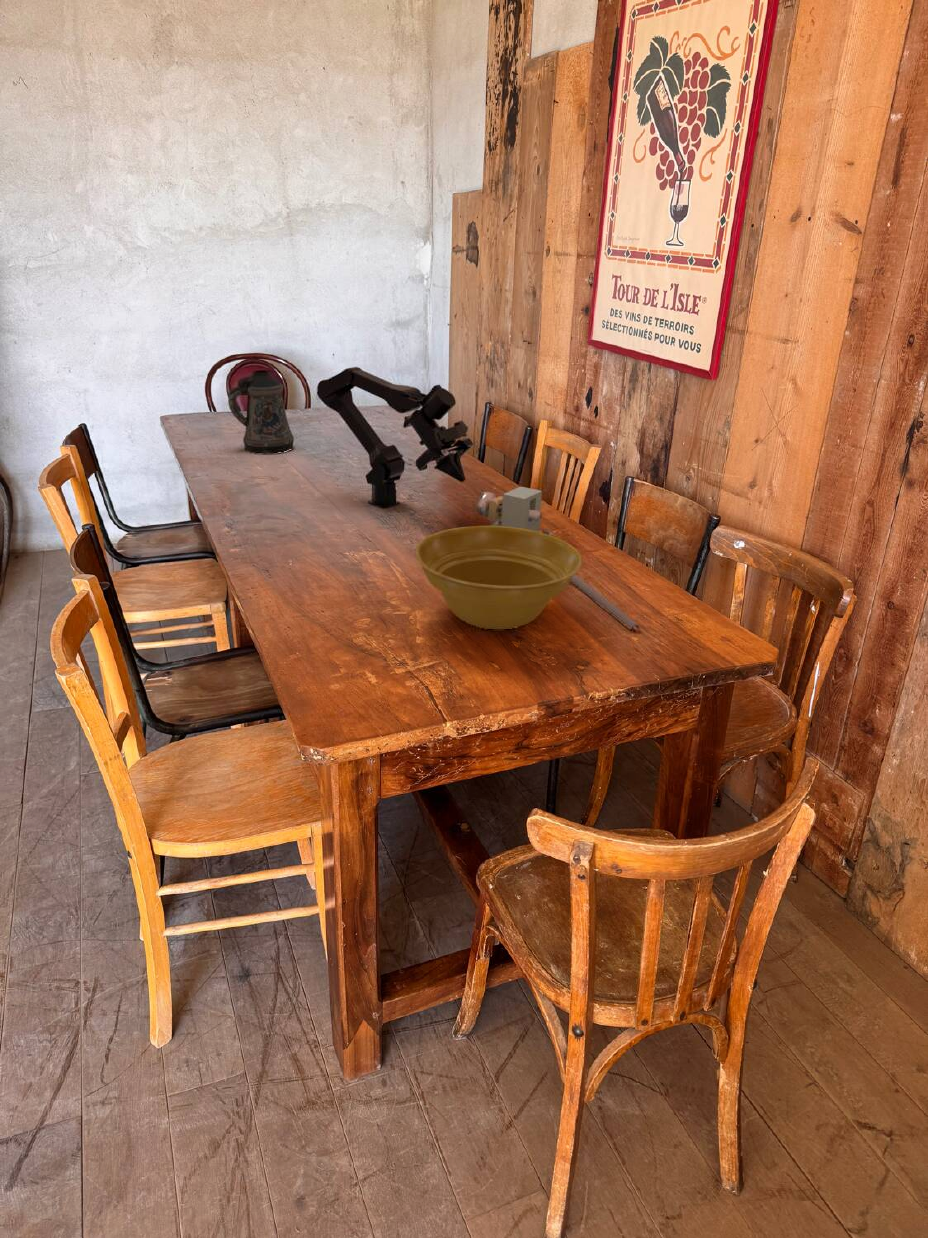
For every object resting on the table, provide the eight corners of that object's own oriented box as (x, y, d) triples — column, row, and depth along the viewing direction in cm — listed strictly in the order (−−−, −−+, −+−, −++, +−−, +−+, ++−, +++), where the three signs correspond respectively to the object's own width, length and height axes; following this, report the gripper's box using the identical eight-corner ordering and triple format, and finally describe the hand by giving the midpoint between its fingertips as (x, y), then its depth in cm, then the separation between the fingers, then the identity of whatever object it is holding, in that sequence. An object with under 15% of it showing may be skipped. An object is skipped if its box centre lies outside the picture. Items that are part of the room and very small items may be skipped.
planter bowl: (603, 643, 158) (611, 577, 152) (437, 661, 149) (439, 592, 143) (541, 579, 185) (545, 520, 180) (397, 591, 177) (398, 530, 171)
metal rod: (575, 580, 186) (576, 572, 185) (639, 633, 163) (640, 623, 162) (567, 581, 186) (568, 573, 185) (630, 634, 163) (631, 624, 162)
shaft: (476, 517, 211) (477, 494, 209) (489, 512, 216) (490, 489, 213) (532, 531, 204) (534, 507, 201) (544, 524, 208) (546, 501, 206)
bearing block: (479, 534, 211) (481, 489, 206) (498, 525, 218) (500, 481, 213) (535, 548, 203) (539, 502, 198) (553, 538, 210) (556, 493, 205)
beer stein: (304, 447, 284) (301, 371, 273) (263, 458, 269) (257, 378, 258) (268, 440, 292) (263, 365, 281) (226, 450, 277) (219, 372, 266)
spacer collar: (488, 520, 210) (489, 500, 208) (499, 515, 214) (500, 495, 212) (495, 522, 209) (496, 501, 207) (506, 517, 213) (507, 497, 211)
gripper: (426, 417, 202) (462, 470, 201) (468, 406, 216) (503, 455, 215) (399, 444, 209) (435, 495, 208) (442, 432, 223) (476, 480, 223)
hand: (463, 480), depth 213 cm, fingers closed
